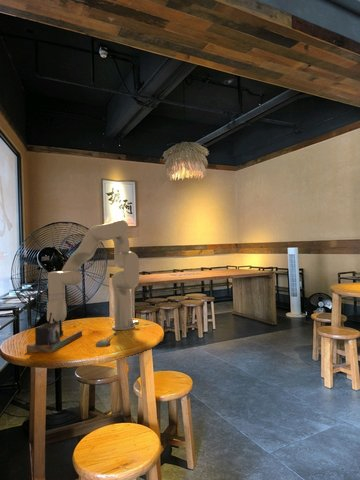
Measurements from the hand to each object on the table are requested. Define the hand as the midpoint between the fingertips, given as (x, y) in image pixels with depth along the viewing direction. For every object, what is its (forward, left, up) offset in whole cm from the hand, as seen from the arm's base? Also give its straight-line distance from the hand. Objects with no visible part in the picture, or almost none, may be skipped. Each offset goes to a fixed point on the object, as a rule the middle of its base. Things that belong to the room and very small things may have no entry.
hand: (58, 334), depth 155 cm
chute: (0, +1, -4) cm, 4 cm away
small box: (0, +9, -4) cm, 9 cm away
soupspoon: (-24, -5, -4) cm, 25 cm away
